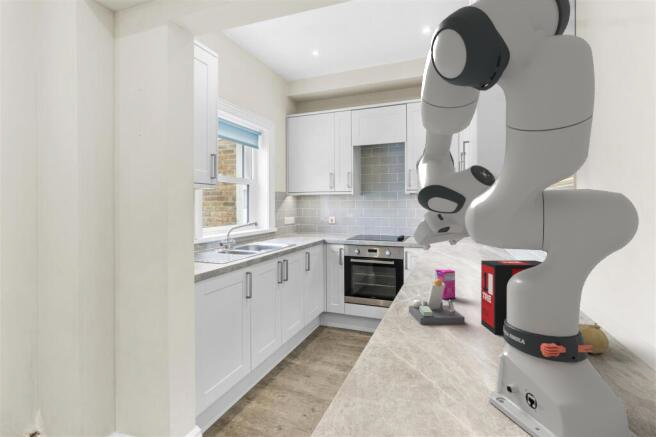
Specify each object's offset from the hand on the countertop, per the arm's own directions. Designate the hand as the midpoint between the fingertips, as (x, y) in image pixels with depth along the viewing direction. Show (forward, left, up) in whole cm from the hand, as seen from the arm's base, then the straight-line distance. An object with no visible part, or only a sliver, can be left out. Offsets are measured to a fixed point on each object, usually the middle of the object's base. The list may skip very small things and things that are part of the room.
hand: (438, 245), depth 99 cm
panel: (+7, -1, -25) cm, 26 cm away
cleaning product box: (-5, -21, -25) cm, 33 cm away
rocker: (+3, +3, -22) cm, 22 cm away
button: (+12, +3, -23) cm, 26 cm away
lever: (+9, -1, -22) cm, 24 cm away
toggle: (+4, -6, -22) cm, 23 cm away
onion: (-20, -30, -25) cm, 44 cm away
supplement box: (+31, -14, -25) cm, 42 cm away
